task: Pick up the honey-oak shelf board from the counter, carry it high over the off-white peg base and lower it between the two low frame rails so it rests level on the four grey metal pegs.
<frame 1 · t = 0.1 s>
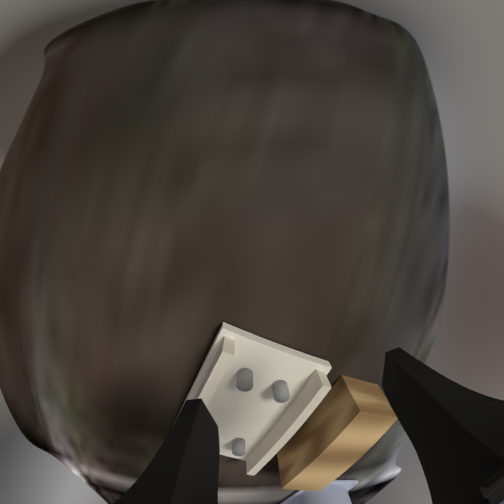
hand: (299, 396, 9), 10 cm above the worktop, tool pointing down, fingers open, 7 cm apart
peg base: (241, 404, 21), on the worktop
shelf board: (325, 424, 22), on the worktop
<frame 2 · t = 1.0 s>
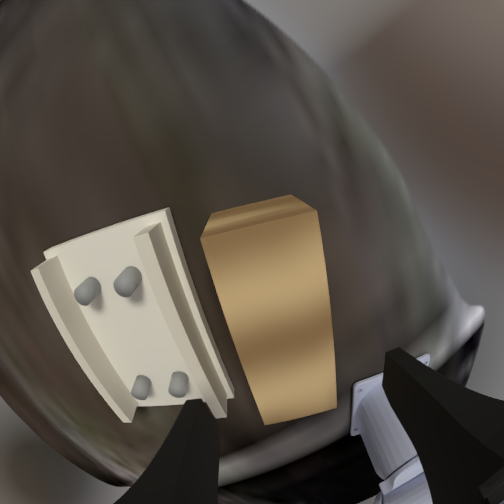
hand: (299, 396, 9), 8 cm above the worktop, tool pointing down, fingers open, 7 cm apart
peg base: (141, 327, 17), on the worktop
shelf board: (273, 298, 17), on the worktop
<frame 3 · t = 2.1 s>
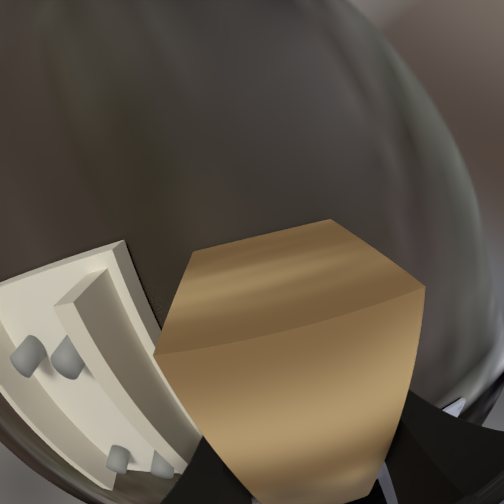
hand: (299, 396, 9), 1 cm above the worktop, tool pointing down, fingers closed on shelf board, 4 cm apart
peg base: (108, 395, 11), on the worktop
shelf board: (292, 371, 10), on the worktop, touching gripper
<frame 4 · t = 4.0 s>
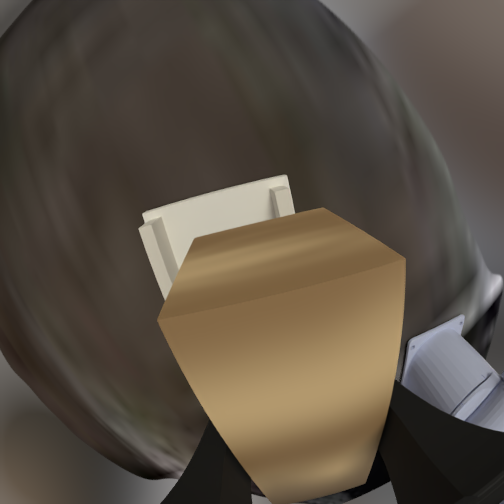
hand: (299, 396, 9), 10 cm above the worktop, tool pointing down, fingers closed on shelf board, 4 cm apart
peg base: (240, 289, 19), on the worktop
shelf board: (288, 356, 11), point 8 cm above the worktop, touching gripper
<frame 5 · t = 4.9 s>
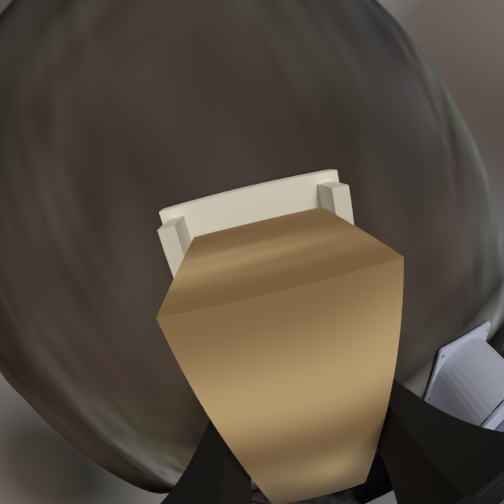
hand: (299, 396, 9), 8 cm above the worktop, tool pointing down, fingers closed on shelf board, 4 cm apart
peg base: (274, 302, 16), on the worktop
shelf board: (288, 355, 11), point 5 cm above the worktop, touching gripper
when the fingers open (6 cm above the worktop, at t = 5.7 s): shelf board drops 1 cm, resting on peg base.
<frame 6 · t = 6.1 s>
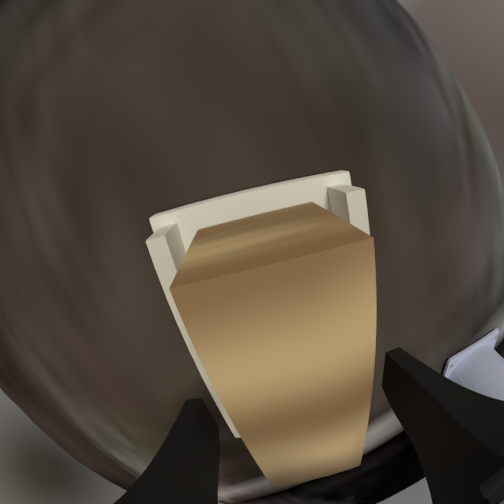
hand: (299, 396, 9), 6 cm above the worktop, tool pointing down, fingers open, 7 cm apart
peg base: (277, 316, 15), on the worktop
shelf board: (284, 339, 12), point 2 cm above the worktop, touching peg base
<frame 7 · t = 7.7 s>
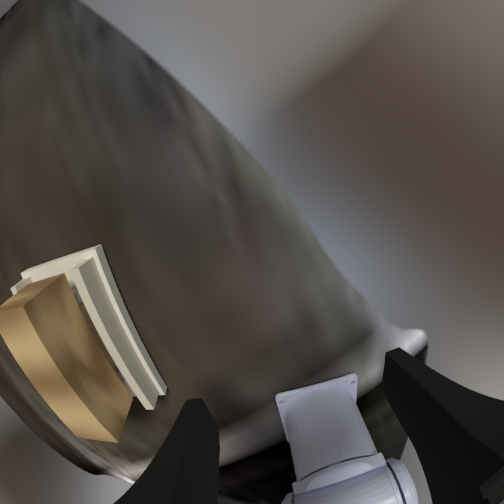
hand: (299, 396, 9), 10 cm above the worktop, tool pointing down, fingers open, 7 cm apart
peg base: (92, 332, 20), on the worktop
shelf board: (78, 346, 17), point 2 cm above the worktop, touching peg base
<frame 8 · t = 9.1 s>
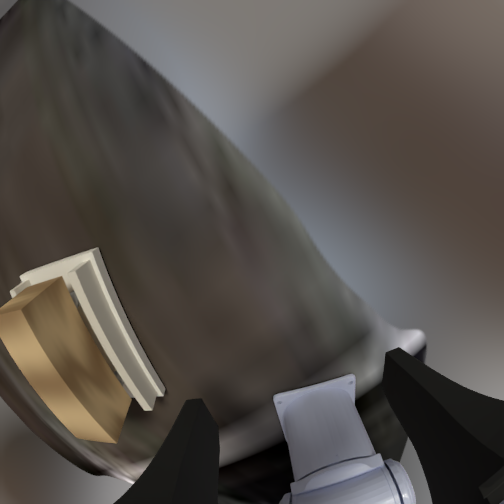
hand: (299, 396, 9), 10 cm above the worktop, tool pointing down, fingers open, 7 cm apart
peg base: (90, 334, 20), on the worktop
shelf board: (77, 348, 17), point 2 cm above the worktop, touching peg base
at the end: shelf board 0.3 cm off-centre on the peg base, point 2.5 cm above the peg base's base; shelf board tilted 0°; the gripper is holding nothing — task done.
